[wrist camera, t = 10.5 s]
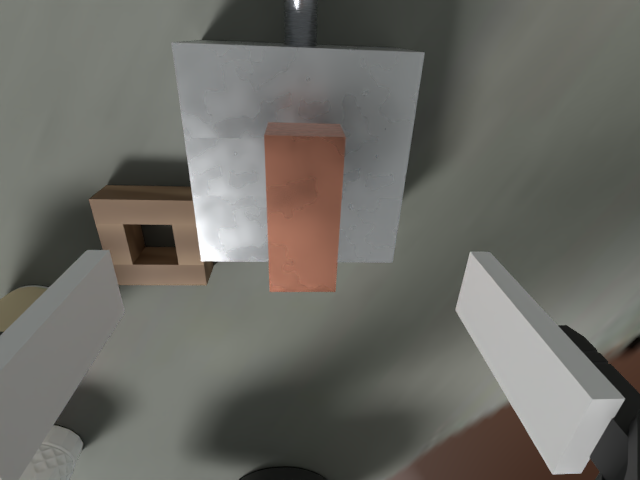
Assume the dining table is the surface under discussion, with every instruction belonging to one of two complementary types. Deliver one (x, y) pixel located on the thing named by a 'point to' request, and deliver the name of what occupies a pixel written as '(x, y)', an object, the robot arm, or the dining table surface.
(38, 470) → the white cup
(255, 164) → the block
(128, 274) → the wooden square frame
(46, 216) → the dining table surface
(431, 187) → the dining table surface
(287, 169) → the block
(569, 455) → the robot arm
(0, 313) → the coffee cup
